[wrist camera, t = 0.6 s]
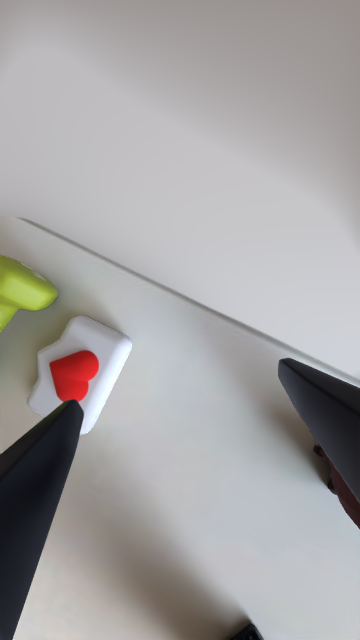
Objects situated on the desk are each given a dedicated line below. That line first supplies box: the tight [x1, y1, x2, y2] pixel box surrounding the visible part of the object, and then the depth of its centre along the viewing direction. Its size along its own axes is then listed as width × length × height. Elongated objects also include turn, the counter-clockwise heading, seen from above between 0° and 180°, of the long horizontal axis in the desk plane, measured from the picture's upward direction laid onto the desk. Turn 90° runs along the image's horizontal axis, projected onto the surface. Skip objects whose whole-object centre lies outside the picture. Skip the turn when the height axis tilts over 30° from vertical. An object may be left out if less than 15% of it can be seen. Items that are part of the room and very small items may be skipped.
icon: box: [27, 315, 132, 435], centre depth 21 cm, size 12×4×10 cm
